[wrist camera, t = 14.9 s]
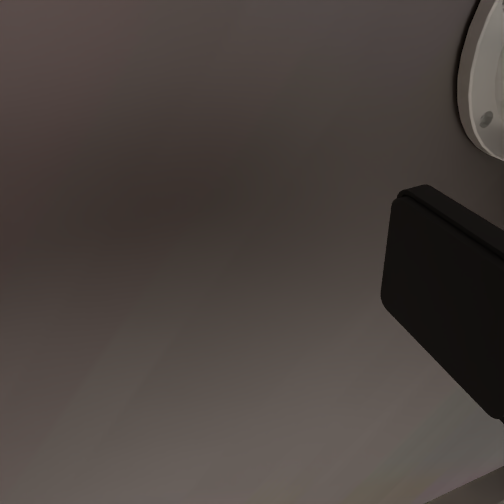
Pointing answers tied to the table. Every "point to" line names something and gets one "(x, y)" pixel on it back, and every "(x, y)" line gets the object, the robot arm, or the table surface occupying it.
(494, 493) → the robot arm
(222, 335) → the table surface
